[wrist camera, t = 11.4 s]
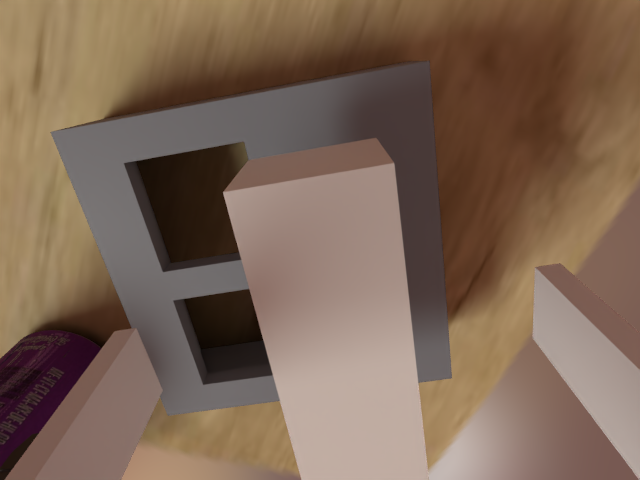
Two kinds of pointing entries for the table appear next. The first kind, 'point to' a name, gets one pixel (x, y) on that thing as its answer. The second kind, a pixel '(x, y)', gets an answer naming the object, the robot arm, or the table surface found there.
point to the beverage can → (38, 382)
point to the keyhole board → (227, 270)
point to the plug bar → (334, 307)
